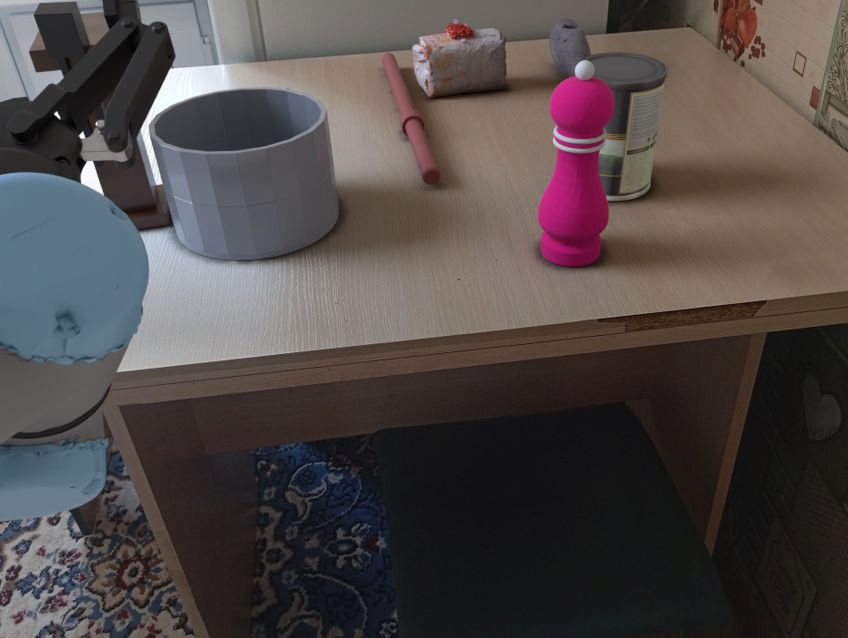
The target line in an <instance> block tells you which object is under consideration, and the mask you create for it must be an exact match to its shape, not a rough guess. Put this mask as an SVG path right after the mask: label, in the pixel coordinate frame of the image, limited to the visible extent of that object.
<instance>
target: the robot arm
mask: <svg viewBox="0 0 848 638" xmlns="http://www.w3.org/2000/svg"><path fill="white" fill-rule="evenodd" d="M101 2H102V10H103V11H102V12H104V17H105V20H106V22H107V25H108V28H109V31H108V32H107V33H106V34H105V35H104V36H103V37H102V38H101V39H100V40H99V41H98V42H97V43H96V44H95V45H94V47H93V48H92V49H91V50H90V51H89V52H88V53H87V54H86V55H85V56H84V57H83V58H82V59H81V60H80V61H79V62H78V63H77V64H76V65H75V66H74V67H73V68H72V69H71V71H70V72H69V73H68V74H67V75H66V76H65V77H63V78H62V79H60V81H59V82H58V83H53V82H51V83H49V84H47V85H46V86H45V87H44V88H43V90H42V91H41V92H39V94H38V95H37V96H36V97H35V98H34V99H33V100H30V99H29V97H28V96H20V97H12V98H9V99H6V100H5V99H4V100H2V101H0V522H9V521H20V520H29V519H35V518H42V517H48V516H52V515H56V514H61V513H63V512H68V511H71V510H74V509H76V508H78V507H81V506H83V505H85V504H88V502H91V501H92V500H93V499H95V498H96V497H97V496H99V494H100V493H102V491H103V489H104V487H105V486H106V482H107V454H106V453H107V452H106V449H107V448H108V446H109V438H108V437H106V434H105V426H104V406H105V404H106V401H107V399H108V396H109V394H110V391H111V388H112V385H113V382H114V379H115V377H116V374H117V372H118V370H119V367H120V365H121V363H122V362H123V359H124V357H125V354H126V352H127V350H128V348H129V346H130V343H131V341H132V339H133V336H134V335H136V334H137V333H138V330H139V326H140V324H141V323H142V317H143V315H144V305H143V304H144V303H143V302H144V300H145V296H146V292H147V289H148V285H149V279H150V261H149V255H148V251H147V248H146V245H145V242H144V240H143V237H142V236H141V234H140V231H139V230H137V228H136V227H135V225H134V224H133V223H132V221H131V220H130V219H129V217H128V216H127V214H126V213H124V212H123V211H122V210H121V209H119V208H118V207H117V206H116V205H115V204H114V203H113V202H112V201H111V200H109V199H108V198H107V197H105V196H104V194H103V193H101V192H99V191H97V190H96V189H94V188H92V187H90V186H88V185H86V184H85V183H82V173H83V170H84V168H85V166H86V165H87V163H88V162H93V161H105V160H114V162H115V164H116V166H117V167H118V168H120V169H129V168H131V167H133V165H134V164H135V161H136V138H137V136H138V134H139V132H140V130H141V131H142V128H143V126H144V124H145V121H147V118H148V116H149V114H150V111H151V110H152V107H153V105H154V103H155V101H156V99H157V97H158V95H159V93H160V91H161V90H162V86H163V85H164V83H165V80H166V79H167V76H168V74H169V72H170V71H171V68H172V66H173V64H174V62H175V60H176V57H177V55H176V51H175V47H174V43H173V40H172V37H171V34H170V30H169V27H168V25H167V24H166V23H165V22H163V21H158V20H157V21H153V22H151V23H149V24H145V23H143V21H142V15H141V7H140V4H139V1H138V0H101ZM116 87H117V88H116ZM115 88H116V90H115V92H114V94H113V96H112V98H111V100H110V102H109V104H108V106H107V109H106V113H105V119H104V120H98V121H97V122H96V128H95V129H94V132H93V134H92V135H91V136H89V137H87V138H85V137H83V138H81V134H83V131H84V129H85V127H86V122H87V119H88V117H89V116H90V115H91V114H92V113H93V112H94V111H95V110H96V109H97V107H98V106H99V105H100V104H101V103H102V102H103V101H104V100H105V99H106V98H107V96H108V95H109V94H110V93H111V92H112V91H113V90H114V89H115ZM56 113H57V115H58V116H57V115H56Z"/></svg>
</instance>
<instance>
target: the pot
mask: <svg viewBox="0 0 848 638" xmlns="http://www.w3.org/2000/svg"><path fill="white" fill-rule="evenodd" d="M148 133H149V139H150V143H151V146H152V150H153V154H154V157H155V160H156V163H157V168H158V172H159V175H160V178H161V179H160V180H161V184H163V187H164V190H165V194H166V198H167V201H168V205H169V213H170V217H171V219H172V223H173V226H174V230H175V234H176V236H177V238H178V240H179V242H180V243H181V244H182V245H183V246H185V248H187V249H188V250H190V251H191V252H193V253H196V254H198V255H201V256H204V257H208V258H212V259H219V260H224V261H253V260H262V259H269V258H274V257H280V256H283V255H288V254H290V253H293V252H296V251H299V250H301V249H304V248H306V247H309V246H310V245H312V244H314V243H316V242H317V241H319V240H320V239H322V238H323V237H325V236H326V235H327V234H328V233H329V232H330V231H331V230H332V229H333V228H334V227H335V225H336V224H337V221H338V218H339V214H340V213H339V207H340V203H339V195H338V188H337V187H338V186H337V180H336V179H337V178H336V173H335V172H336V171H335V164H334V156H333V147H332V140H331V132H330V123H329V116H328V110H327V107H325V105H324V103H323V101H322V100H320V99H319V98H316V97H314V96H313V95H311V94H309V93H306V92H303V91H298V90H294V89H291V88H281V87H269V86H261V87H257V86H256V87H255V86H254V87H238V88H231V89H230V88H229V89H223V90H216V91H211V92H207V93H203V94H199V95H195V96H192V97H189V98H186V99H184V100H181V101H178V102H176V103H173V104H171V105H170V106H169V105H168V106H167V107H166V108H164V109H163V110H162V111H160V112H158V113H157V114H155V116H154V117H153V119H152V120H151V121H150V122H149V124H148Z"/></svg>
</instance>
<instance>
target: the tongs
mask: <svg viewBox="0 0 848 638" xmlns="http://www.w3.org/2000/svg"><path fill="white" fill-rule="evenodd" d="M81 14H82V13H81V11H80V7H79V4H78V3H77V1H57V2H55V1H54V2H53V1H52V2H39V3H38V5H37V6H36V9H35V11H34V13H33V19H34V21H35V23H36V26H37V29H38V31H39V32H40V34H41V37H42V40H43V43H44V45H45V48H46V51H47V53H48V56H49V58H57V60H58V63H59V66H60V69H61V70H60V72H61V74H62V77H63V78H64V77H65V76H66V75H67V74H68V73H69V72H70V71H71V66H70V63H69V61H68V57H77V58H78V61H80V60H81V59H82V58H83V57H84V56H85V55H86V54H87V52H88V49H89V46H90V42H89V39H88V35H87V32H86V29H85V26H84V23H83V20H82V17H81ZM95 111H96V114H97V117H98V120H104V119H105V113H106V111H105V108H104V104H103V102H102V103H101V104H100V105H99V106H98V107H97V109H96V110H95ZM83 132H84V133H83ZM83 132H82V133H83V136H84V135H85V136H84V138H87V137H89V136H91V135H92V134H93V129H92V126H91V123H90V120H89V118H88V119H87V122H86V127H85V129H84V131H83ZM112 161H113V164H114V165H116V164H115V162H114V160H112ZM94 163H95V166H96V167H98V166H103V163H104V161H94Z"/></svg>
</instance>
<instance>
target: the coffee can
mask: <svg viewBox="0 0 848 638" xmlns="http://www.w3.org/2000/svg"><path fill="white" fill-rule="evenodd" d="M584 60H587V61H590V62H591V63H592V64H593V66H594V69H595V70H594V75H593V77H595V78H598V79H600V80H602V81H604V82H605V83H606V84H607V85H608V86H609V88H610V89H611V91H612V93H613V97H614V113H613V116H612V118H611V120H610V121H609V122H608V124H606V125H605V126H604V128H605V130H606V136H605V145H604V147H603V148H602V149H600V153H599V165H598V169H599V175H600V179H601V182H602V185H603V188H604V191H605V194H606V197H607V202H625V201H629V200H630V201H631V200H634V199H637V198H640V197H641V196H643V195H645V194H647V192H648V191H649V190H650V188H651V180H652V173H653V164H654V157H655V152H656V144H657V137H658V131H659V123H660V118H661V110H662V103H663V96H664V91H665V83H666V79H667V77H668V72H669V70H668V69H669V68H668V67H667V65H666V64H665V63H664V62H663V61H660V60H659V59H657V58H654V57H651V56H648V55H644V54H639V53H633V52H621V51H620V52H618V51H617V52H616V51H615V52H612V51H611V52H600V53H594V54H591V55H590V56H586V57H584V58H581V59H580V60H578V61H577V62H576V63H575V65H574V74H575V68H576V66H577V64H578V63H579V62H581V61H584ZM575 76H576V75H575Z"/></svg>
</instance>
